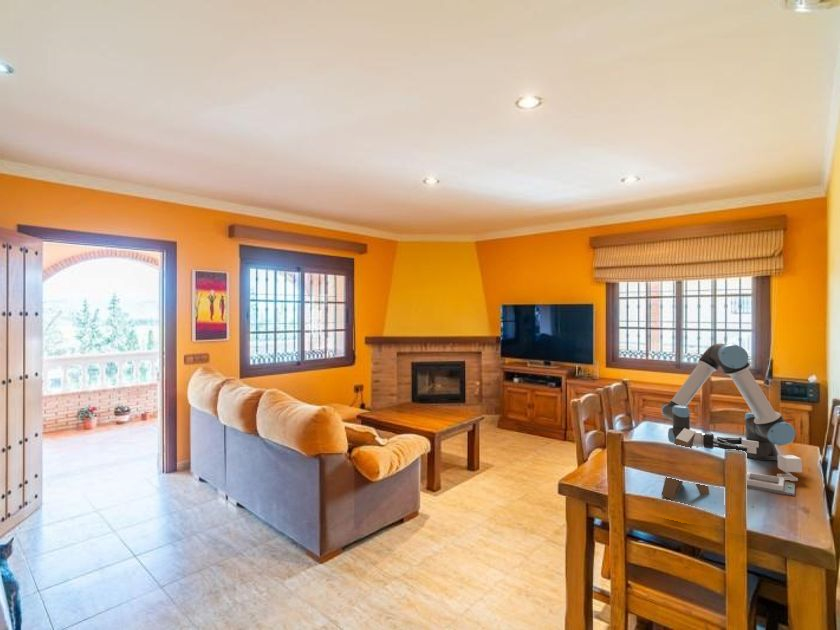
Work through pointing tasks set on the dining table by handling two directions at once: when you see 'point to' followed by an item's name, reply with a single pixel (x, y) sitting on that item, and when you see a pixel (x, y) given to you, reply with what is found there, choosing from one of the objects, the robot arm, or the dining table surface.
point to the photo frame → (674, 485)
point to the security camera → (789, 466)
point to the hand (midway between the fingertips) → (757, 447)
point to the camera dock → (770, 483)
